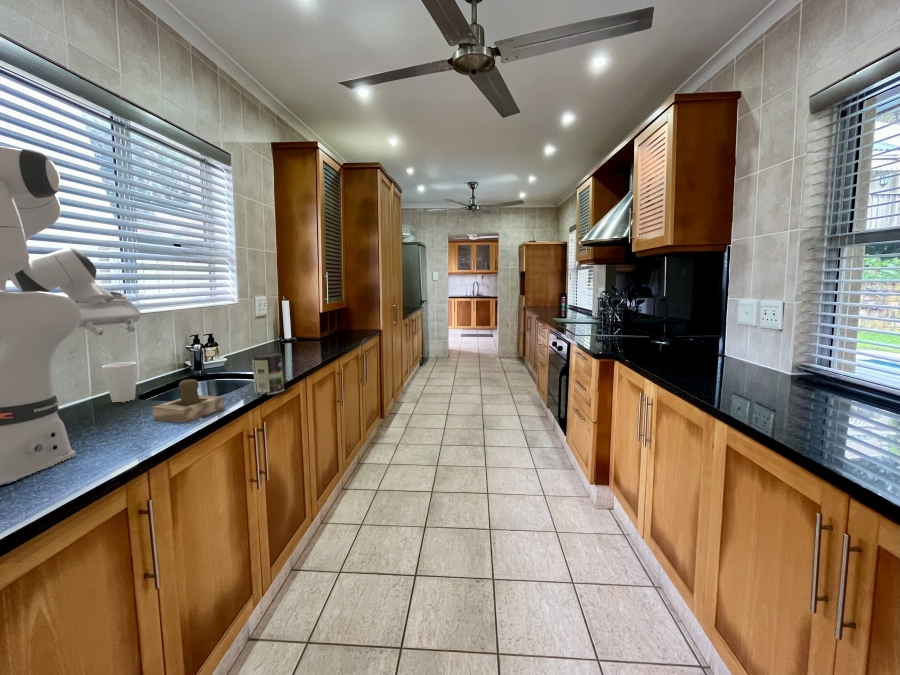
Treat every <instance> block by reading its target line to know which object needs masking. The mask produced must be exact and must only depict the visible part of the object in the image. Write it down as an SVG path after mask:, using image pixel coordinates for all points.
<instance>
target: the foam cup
mask: <svg viewBox="0 0 900 675" xmlns="http://www.w3.org/2000/svg"><path fill="white" fill-rule="evenodd" d="M137 369H138V366H137V362H135V361H122V362H121V361H120V362H114V363H108V364H104V365H101V372H102V374H103V377H104V380H105V383H106V387H107V389H108V393H109V396H110V399H111V402H112V403H113V402H122V403H126V401H128V402H131V401H130V400H132V401H134V400H136V390H137V388H136V384H137Z"/></svg>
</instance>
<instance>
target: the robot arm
mask: <svg viewBox="0 0 900 675" xmlns="http://www.w3.org/2000/svg"><path fill="white" fill-rule="evenodd" d="M60 186H61V176H60V173H59V170H58V168H57V166H56V165H55V162H54V161H53V160H52V158H50V157H48V156H47V155H46V154H44V153H43V152H41V151H37V150H34V149H29V148H23V149H19V148H13V147H9V146H2V145H1V146H0V342H5V349H4V353H3V355H2V356H1V357H0V484H1V483H2V484H3V483H6V482H10V481H12V480H15V479H17V478H20V477H23V476H27V475H30V474H32V473H35V472H37V471H40V470H42V469H44V470H46V469H48V467H49V468H51V467H54V466H56V465H58V464H60V463H62V462H61V461H63V462H64V460H65V461H67V460H69V459H72V458H74V457H76V456H77V451H76V450H74V449H72V447H71V444H70V441H69V436H68V433H67V430H66V426H65V424H64V422H63V420H62V419H61V418H60V416H59V414H58V411H59V400H58V398H57V397H58V396H57V395H55V394H54V387H53V379H52V378H53V376H52V362H53V358H54V355H55V353H56V351H57V349H58V347H59V346H60V345H61V344H62V342H63V341H64V340H66V338H68V337H70V336H71V335H72V334H73V333H75V332H76V330H77V329H78V328H84V329H85V330H87V331H89V332H92V333H93V334H94V335H95V336H102V335H103V334H104V330H103V328H101V327H100V326H111V325H122V324H123V325H124V324H125V325H126V328H125V329H126V330H127V332H128V333H133V332H136V326H134V323H137V322H138V321H139V320H140V318H141V317H142V316H141V315H142V313H141V311H140V310H139V308H138V307H137V306H136V305H135V304H134V303H133V302H132V301H131V300H128V299H127V295H125V293H123V292H118V291H113V290H108V289H105V288H102V287H101V286H99V284H97V283H96V281H95V279H96V276H97V273H98V272H97V268H96V265H94V263H93V262H92V261H91V260H90V259H89V258H88V257H87V255H86V254H85V252H83V251H82V250H79V249H76V248H73V247H68V248H63V249H61V250H60V249H59V250H57V251H52V252H51V253H47V254H43V255H40V256H37V257H33V258H30V254H29V249H28V246H27V242H28V241H29V240H30V239H31V238H33V237H34V236H35V235H37V234H39V233H40V232H42V231H44V230H46V229H48V228H50V227H52V226H53V225H54V224H55V223H56V222H57V221H58V220H59V218H60V216H61V215H62V214H61V213H62V206H61V202H60V200H59V197H58V196H57V193H58V192H60ZM8 279H10V280H11V282H12V284H13V285H14V287H16V288H17V289H18V290H19V291H7V290H6V288H7V287H6V285H7V281H8ZM58 288H59V289H60V290H61V291H62V293H64V294H62V293H56V292H55V293H54V292H50V291H52V290H55V289H58ZM71 457H72V458H71ZM68 458H69V459H68ZM66 459H67V460H66ZM59 462H60V463H59ZM57 463H58V464H57ZM55 464H56V465H55ZM50 466H51V467H50ZM45 468H46V469H45ZM42 471H43V470H42ZM40 472H41V471H40ZM37 473H38V472H37ZM35 474H36V473H35ZM30 476H31V475H30Z"/></svg>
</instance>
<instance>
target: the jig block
mask: <svg viewBox="0 0 900 675" xmlns="http://www.w3.org/2000/svg"><path fill="white" fill-rule="evenodd" d="M198 396H199V400H200V402H199V403H196V404H193V405H190V406H181V398H177V399H175V400H170V401H168V402H165V403H160V404H157V405H155V406H154V405H153V406H151V407H152V416H153V421H162V422H170V423H171V422H172V423H178V422H186V423H188V422H187V421H189V422H191V421H194V420H196V418H197V419H200V418H202V417H201V416H203V415H205V416H207V415H206V414H208V413H211V412H214V411H216V412H218V411H217V410H219V411H221V410H220V409H222V408H223V409H224V400H223V396H214V395H203V394H198ZM223 409H222V410H223ZM214 413H215V412H214ZM211 414H212V413H211ZM208 415H209V414H208ZM199 417H200V418H199ZM203 417H204V416H203ZM193 419H194V420H193ZM190 420H191V421H190Z"/></svg>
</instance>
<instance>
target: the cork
mask: <svg viewBox="0 0 900 675" xmlns="http://www.w3.org/2000/svg"><path fill="white" fill-rule="evenodd" d="M199 387H200V386H199V382H198V380H197V379H195V378H194V379H193V378H192V379H191V378H189V379H188V378H187V379H183V380H181V381H180V382H178V388H179V391H181V392H180V399H181V406H190V405H193V404H196V403H199V402H200V400H199V396H198V395H199V394H198V389H199Z"/></svg>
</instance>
